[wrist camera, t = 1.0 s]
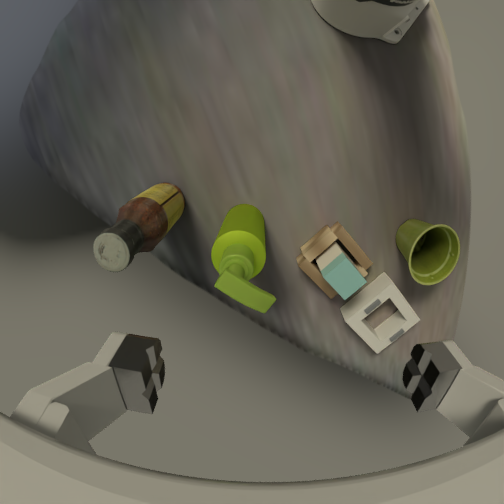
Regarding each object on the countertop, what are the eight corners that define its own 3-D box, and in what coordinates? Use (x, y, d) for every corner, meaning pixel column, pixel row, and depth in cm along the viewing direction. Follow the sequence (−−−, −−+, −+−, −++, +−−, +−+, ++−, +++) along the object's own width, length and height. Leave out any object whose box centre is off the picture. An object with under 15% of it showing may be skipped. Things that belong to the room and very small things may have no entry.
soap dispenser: (255, 252, 45) (252, 331, 27) (217, 228, 44) (187, 294, 26) (277, 221, 44) (290, 285, 25) (238, 196, 42) (221, 242, 24)
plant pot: (426, 263, 45) (450, 285, 37) (381, 261, 45) (402, 285, 37) (437, 212, 42) (466, 227, 34) (391, 206, 42) (417, 221, 34)
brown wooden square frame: (334, 217, 43) (339, 223, 40) (369, 259, 45) (375, 267, 43) (292, 254, 45) (294, 262, 43) (330, 292, 48) (334, 302, 45)
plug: (332, 237, 44) (346, 257, 37) (351, 259, 45) (366, 281, 38) (313, 254, 45) (323, 277, 38) (332, 275, 47) (344, 300, 39)
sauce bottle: (140, 197, 43) (68, 239, 24) (170, 173, 41) (106, 200, 23) (165, 230, 44) (108, 292, 26) (196, 208, 43) (150, 260, 25)
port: (384, 271, 46) (394, 283, 42) (411, 308, 49) (421, 321, 45) (339, 308, 49) (345, 323, 45) (370, 340, 51) (377, 355, 47)
